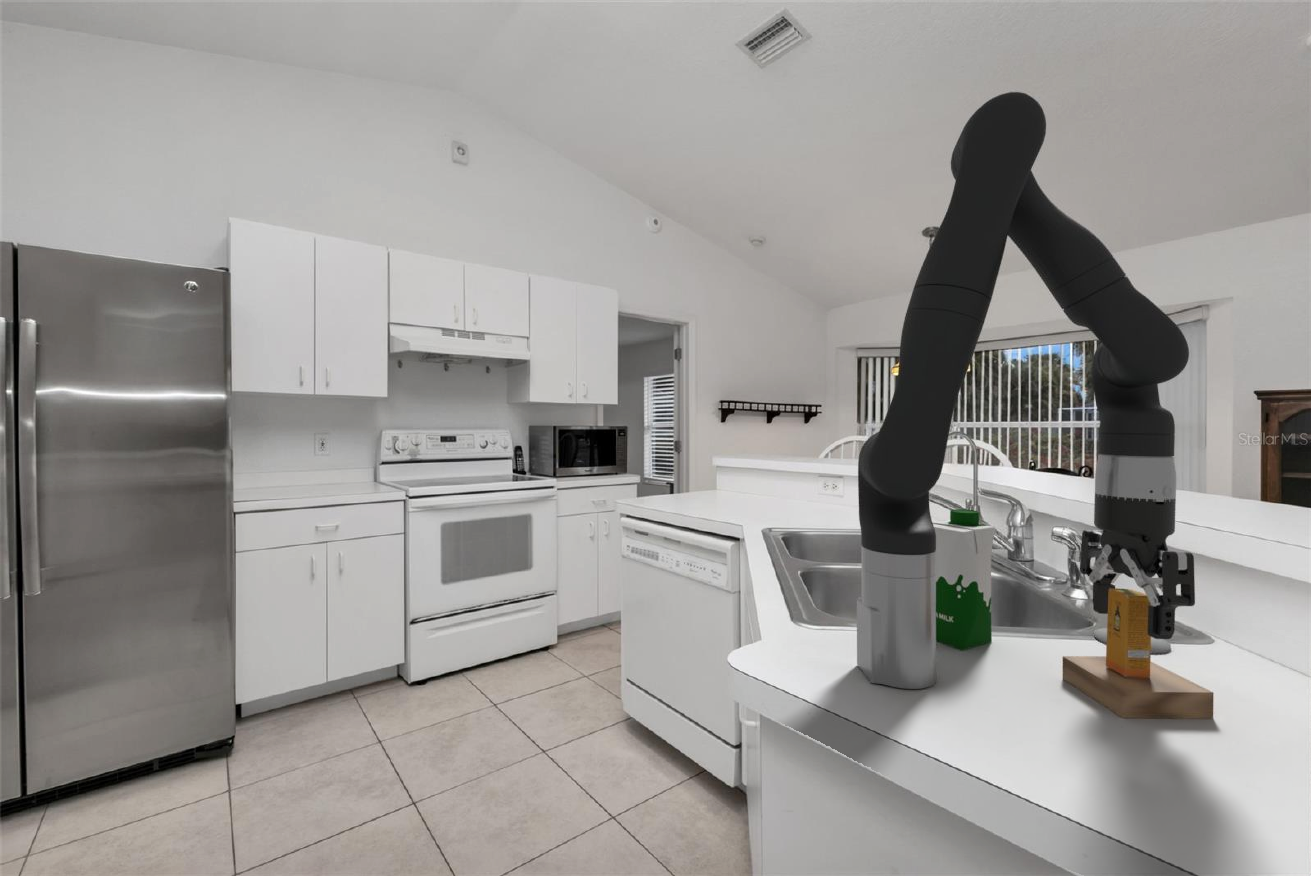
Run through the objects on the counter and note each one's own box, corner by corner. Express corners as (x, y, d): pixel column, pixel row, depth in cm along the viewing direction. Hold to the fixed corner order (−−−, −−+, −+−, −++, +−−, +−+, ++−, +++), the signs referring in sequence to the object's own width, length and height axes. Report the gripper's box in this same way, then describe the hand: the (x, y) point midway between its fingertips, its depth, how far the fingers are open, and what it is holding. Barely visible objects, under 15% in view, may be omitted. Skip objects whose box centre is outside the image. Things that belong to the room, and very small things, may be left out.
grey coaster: (1124, 653, 82) (1124, 650, 82) (1080, 631, 91) (1080, 628, 91) (1188, 653, 82) (1188, 650, 82) (1137, 631, 91) (1137, 628, 91)
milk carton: (1001, 642, 87) (1001, 513, 86) (963, 654, 83) (963, 518, 82) (948, 625, 94) (948, 506, 94) (912, 634, 90) (912, 510, 90)
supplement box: (1154, 678, 67) (1155, 595, 67) (1124, 678, 68) (1125, 595, 67) (1132, 666, 71) (1132, 587, 70) (1103, 666, 71) (1104, 587, 71)
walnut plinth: (1122, 717, 64) (1122, 691, 64) (1062, 678, 74) (1062, 656, 74) (1213, 718, 64) (1213, 692, 64) (1140, 679, 74) (1140, 656, 74)
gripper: (1062, 486, 76) (1059, 605, 76) (1151, 500, 62) (1147, 646, 62) (1119, 486, 75) (1116, 606, 76) (1222, 501, 61) (1217, 648, 62)
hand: (1130, 624), depth 69 cm, fingers open, 8 cm apart
